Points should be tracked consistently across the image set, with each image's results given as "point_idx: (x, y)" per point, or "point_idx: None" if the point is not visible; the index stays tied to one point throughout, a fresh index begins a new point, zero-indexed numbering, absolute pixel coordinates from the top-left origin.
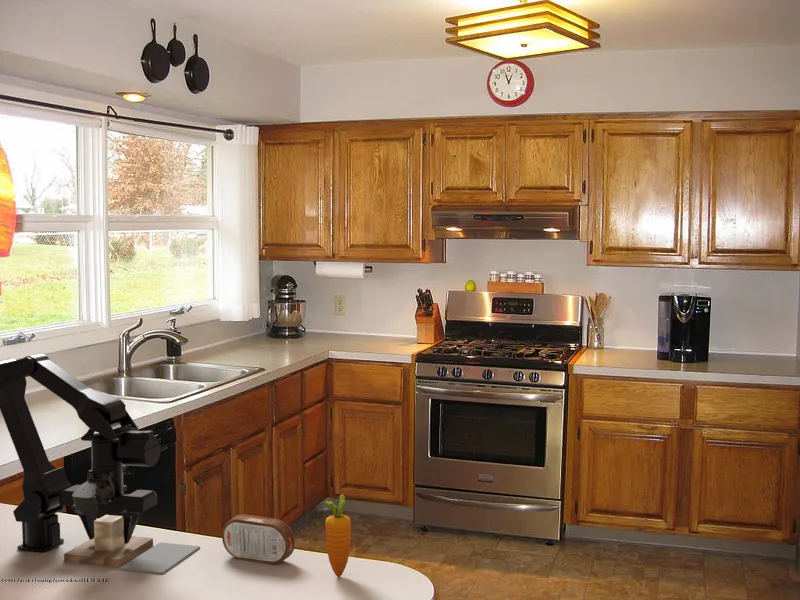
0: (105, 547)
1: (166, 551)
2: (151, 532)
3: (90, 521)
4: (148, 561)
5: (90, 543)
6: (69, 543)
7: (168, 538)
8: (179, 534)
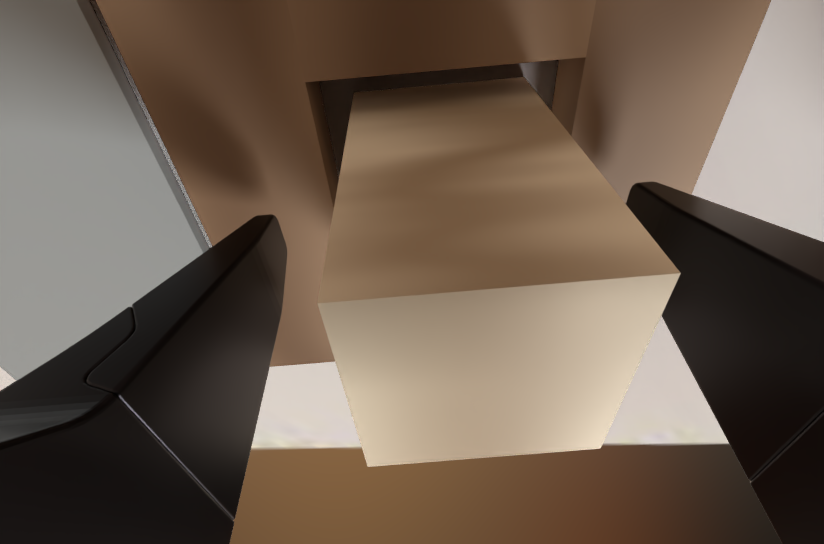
0: (425, 117)
1: (80, 283)
2: None
3: (748, 315)
4: None
5: (634, 182)
6: (814, 216)
7: (290, 403)
8: (285, 437)
